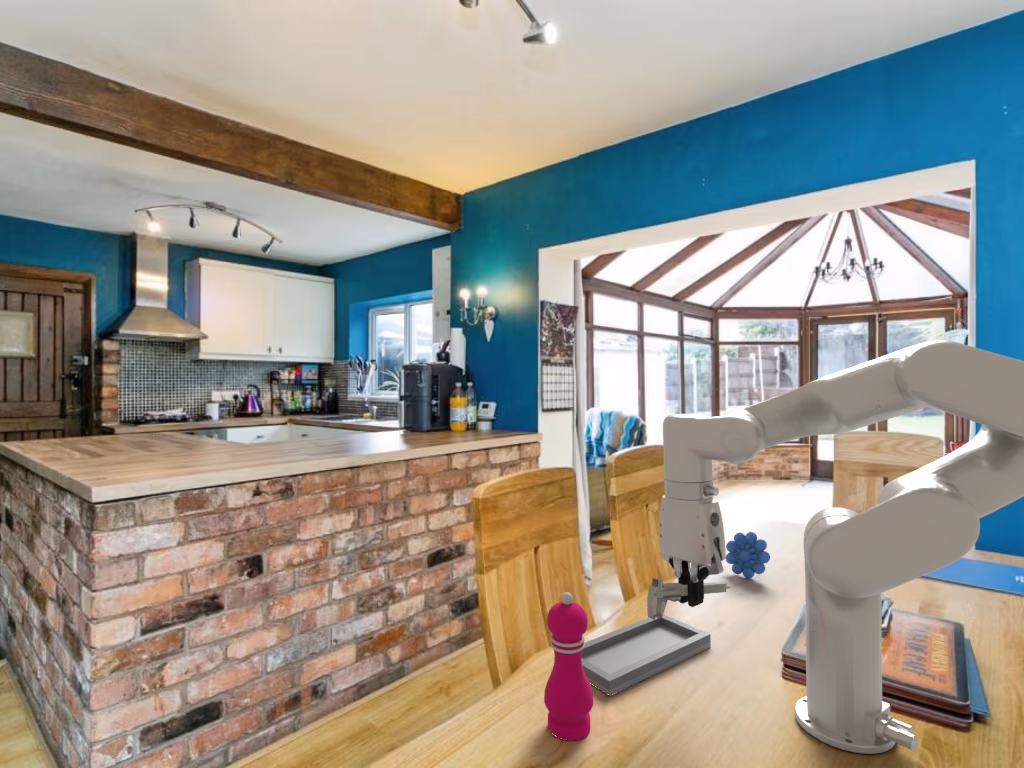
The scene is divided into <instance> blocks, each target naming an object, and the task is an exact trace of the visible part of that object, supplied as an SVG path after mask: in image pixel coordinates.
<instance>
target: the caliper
mask: <svg viewBox="0 0 1024 768" xmlns="http://www.w3.org/2000/svg"><path fill="white" fill-rule="evenodd" d="M731 588H732V587H731V585H728V583H726V582H723V581H715V582H714V581H713V582H704V595H707V594H720V593H726V592H727V590H729V589H731ZM681 596H688V585H682V584H680V583H678V582H667V583H664V578H662V577H660V576H659V577H657V578H655V577H652V579H651V584H649V585H648V592H647V597H646V599H647V600H646V603H647V604H646V607H647V618H648V617H649V618H652V619H654V620H655V617H657V618H659V619H661V618H662V617H663V614H664V613H665V610H666V608H667V604H668V603H667V602H668V601H671V602H673V603H675V602H679V601H681ZM664 615H665V614H664Z"/></svg>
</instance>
